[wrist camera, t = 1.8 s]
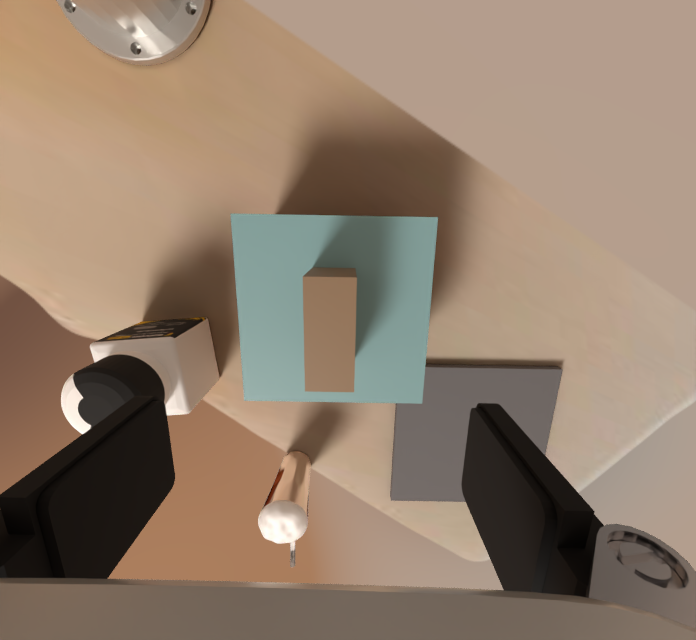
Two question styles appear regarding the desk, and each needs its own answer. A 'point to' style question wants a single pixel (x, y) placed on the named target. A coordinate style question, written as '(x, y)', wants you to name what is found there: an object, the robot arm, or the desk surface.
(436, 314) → the desk surface
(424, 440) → the desk mat
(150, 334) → the medicine bottle
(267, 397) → the lid
